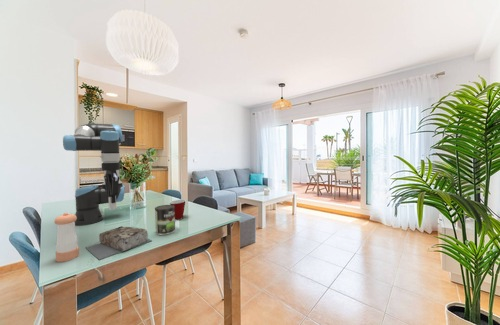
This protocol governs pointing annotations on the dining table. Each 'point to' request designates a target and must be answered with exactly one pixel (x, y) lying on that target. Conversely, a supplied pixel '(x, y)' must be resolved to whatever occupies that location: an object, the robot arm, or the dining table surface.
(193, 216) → the dining table surface
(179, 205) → the plastic cup
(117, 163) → the robot arm
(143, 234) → the stone block
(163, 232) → the coffee can
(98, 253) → the mat
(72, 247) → the salt shaker
